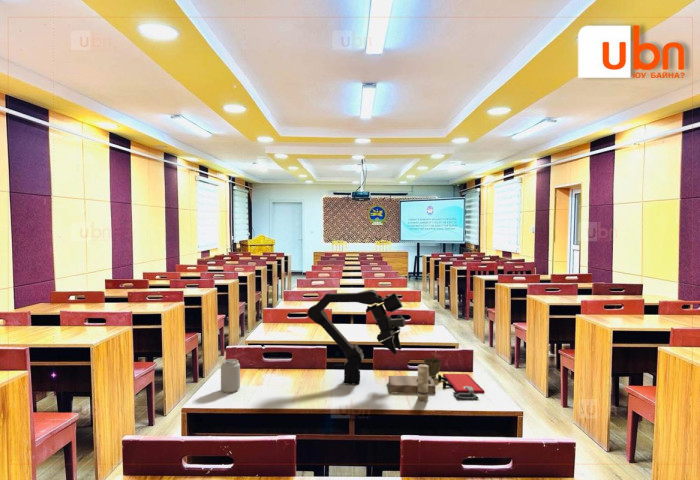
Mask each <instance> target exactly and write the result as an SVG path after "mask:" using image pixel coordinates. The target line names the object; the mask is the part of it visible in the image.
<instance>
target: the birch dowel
mask: <svg viewBox="0 0 700 480" xmlns="http://www.w3.org/2000/svg"><path fill="white" fill-rule="evenodd" d="M417 376H418V393H417V401H419V402H427V401H429V394H430V393H429V391H428V365H425V364H424V363H423V364H422V363H421V364H418V365H417Z"/></svg>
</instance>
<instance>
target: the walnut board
mask: <svg viewBox="0 0 700 480" xmlns="http://www.w3.org/2000/svg"><path fill="white" fill-rule="evenodd" d="M388 386H389V387H388V388H389V391H390V393H391V392H393V393H394V392H397V394H398V393H399V394H418V375H388ZM428 391H429V393H428V394H436V384H435V382H434V380H433V378H431V376H428ZM393 393H392V394H393ZM394 394H395V393H394Z"/></svg>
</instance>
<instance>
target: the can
mask: <svg viewBox="0 0 700 480" xmlns="http://www.w3.org/2000/svg"><path fill="white" fill-rule="evenodd" d="M240 388H241V364H240V363H239V360H238V359H234V358H229V359H224V360H223V361H222V364H221V365H220V390H221V391H222V393H227V394H231V392H232V393H235V391H236V392H238V390H240Z"/></svg>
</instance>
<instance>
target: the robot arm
mask: <svg viewBox="0 0 700 480" xmlns="http://www.w3.org/2000/svg"><path fill="white" fill-rule="evenodd" d="M330 303H359V304H363V305H367V306H366V310H365V312H366V313H369V312H371V314H372V316H373V320H374V321H375V326H377V327H378V329H379V333H378V334H377V336H376V340H377V342H378V343H380V344H382V345H383V346H384V347H386V349H388V350H389V351H390V352H391V354H394V355H396V354H397V353H398V352H397V349H398V350H399V351H400V350H402V345H401V342H400V333H401V328H403V327H405V326H406V319H405V317H403V315H397V317H396V318H392V317H391V316H389V315H388V314H387V312H388V313H393V312H395V311H397V310H399V309H401V308H403V307H404V306H403V304H402V301H401V300H400V298H399V297H398V295H397V294H396V292H393V293H391V295H388V296H387V297H384V296H382V295H380V294H378V292H377V291H376V290H374V289H368V290H363V291H359V292H335V293H334V292H327V293H326V294H324V295H323V297H322V298H321V299H320V300H319V301H318V302H317V303H316V304H314V305H312V306H311V307H309V308H308V310H307V317H308V318H309V319H310V320H312V321H313V322H314V323H315V324H317V325H318V326H320V327H322V329H323V330H324V331H325V332H326V333H327V334H328V336H329V337H330V338H331V339H332V340H333V341H334V342H335V343H336V344H337V346H338V347H339V348H340V349H341V350H342V353H343V355H345V358H346V360H345V362H344V363H343V369H344V370H343V385H360V382H361V370H360V365H361V364H362V362H363V359H364V357H365V355H364V353H363V349H361V348H360V347H359V345H358V344H357V343H355V345H354V344H352V343H350V341H349V340H348V339H347V338H346V337H345V335H343V333H342V332H341V331H340V330H339V329H338V328H337V327H336V326H335V324H333V322H332V321H331V320H330V318H329V317H328V315H327V312H326V311H325V309H326V308H327V306H329V305H330Z"/></svg>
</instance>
